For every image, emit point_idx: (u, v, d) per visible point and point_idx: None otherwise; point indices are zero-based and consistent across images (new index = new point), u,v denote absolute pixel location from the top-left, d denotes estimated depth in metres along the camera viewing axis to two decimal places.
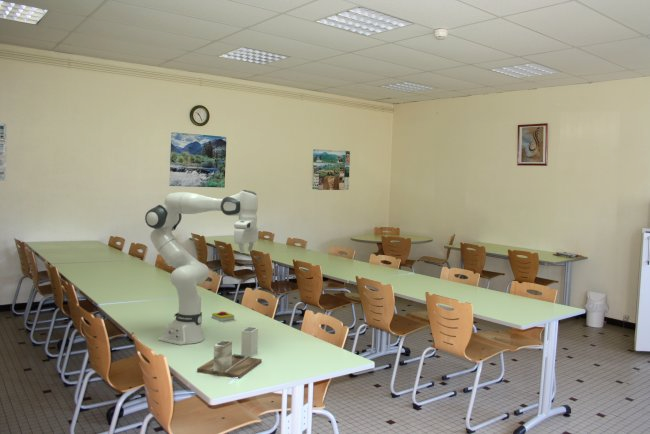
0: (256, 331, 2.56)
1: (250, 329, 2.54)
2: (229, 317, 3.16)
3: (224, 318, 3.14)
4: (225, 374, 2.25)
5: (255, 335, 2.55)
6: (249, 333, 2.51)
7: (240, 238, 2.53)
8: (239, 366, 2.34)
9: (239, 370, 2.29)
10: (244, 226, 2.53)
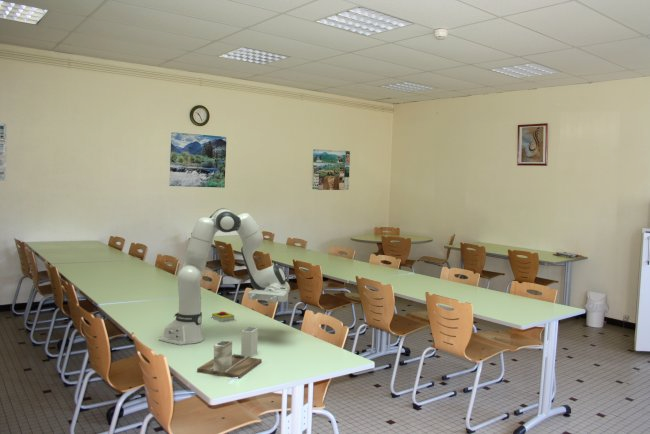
0: (256, 331, 2.56)
1: (250, 329, 2.54)
2: (229, 317, 3.16)
3: (224, 318, 3.14)
4: (225, 374, 2.25)
5: (255, 335, 2.55)
6: (249, 333, 2.51)
7: (285, 300, 2.69)
8: (239, 366, 2.34)
9: (239, 370, 2.29)
10: (287, 300, 2.75)
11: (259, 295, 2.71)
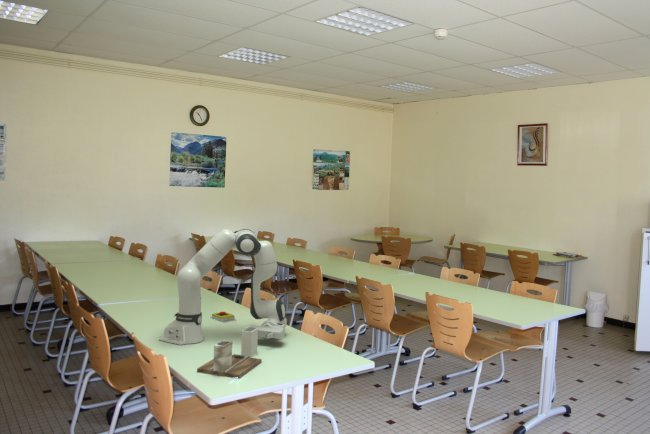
0: (256, 331, 2.56)
1: (250, 329, 2.54)
2: (230, 317, 3.16)
3: (225, 318, 3.14)
4: (225, 374, 2.25)
5: (255, 335, 2.55)
6: (249, 333, 2.51)
7: (282, 336, 2.68)
8: (239, 366, 2.34)
9: (239, 370, 2.29)
10: None
11: None
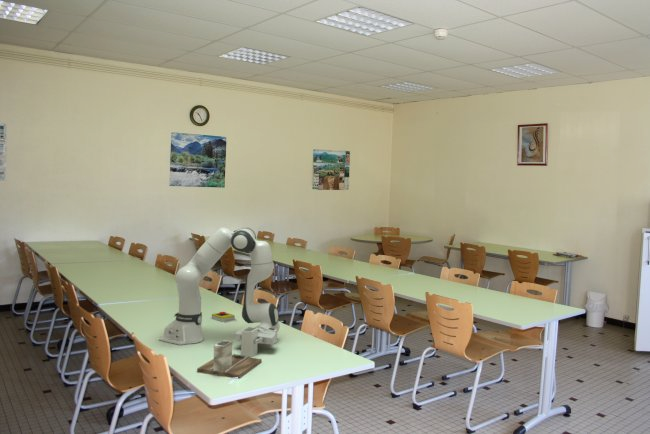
0: (256, 331, 2.56)
1: (250, 329, 2.54)
2: (230, 317, 3.16)
3: (225, 318, 3.13)
4: (225, 374, 2.25)
5: (255, 335, 2.55)
6: (249, 333, 2.51)
7: (274, 342, 2.58)
8: (239, 366, 2.34)
9: (239, 370, 2.29)
10: (276, 341, 2.64)
11: None
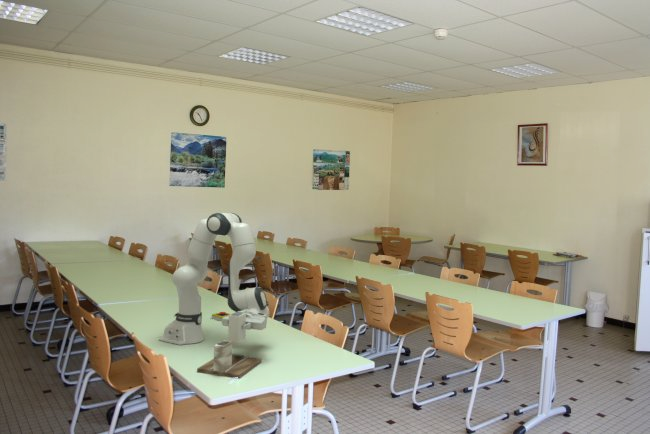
0: (244, 316, 2.42)
1: (238, 313, 2.40)
2: None
3: None
4: (225, 374, 2.25)
5: (243, 320, 2.41)
6: (237, 318, 2.37)
7: (263, 327, 2.44)
8: (239, 366, 2.34)
9: (239, 370, 2.29)
10: (265, 327, 2.50)
11: None
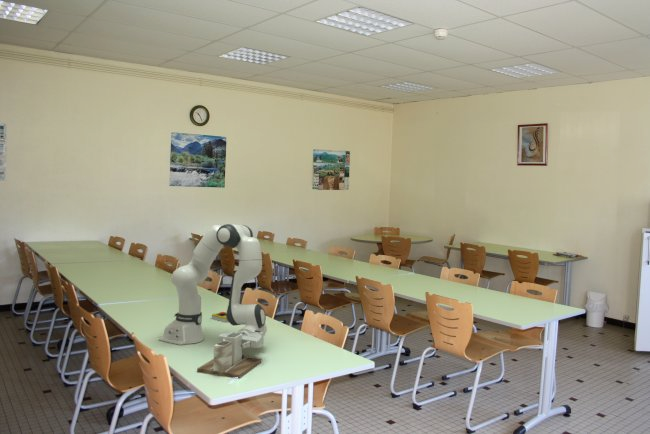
0: (240, 337, 2.40)
1: (234, 335, 2.38)
2: None
3: None
4: (225, 374, 2.25)
5: (239, 341, 2.39)
6: (232, 339, 2.35)
7: (260, 345, 2.42)
8: (239, 366, 2.34)
9: (239, 370, 2.29)
10: (262, 344, 2.48)
11: None
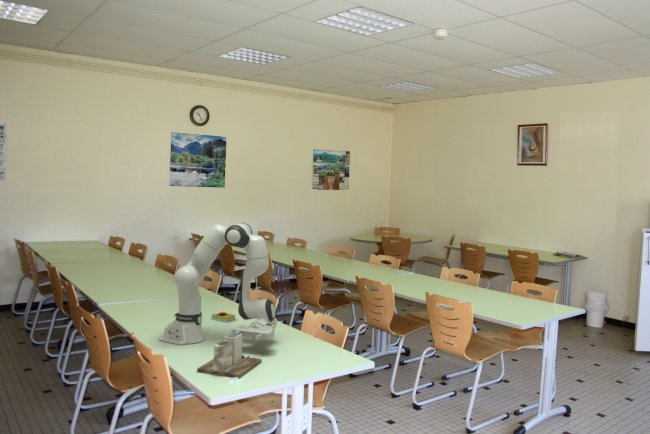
0: (240, 337, 2.40)
1: (234, 335, 2.38)
2: (231, 317, 3.16)
3: (227, 318, 3.13)
4: (225, 374, 2.25)
5: (239, 341, 2.39)
6: (232, 339, 2.35)
7: (271, 338, 2.54)
8: (239, 366, 2.34)
9: (239, 370, 2.29)
10: (273, 337, 2.60)
11: (244, 332, 2.56)
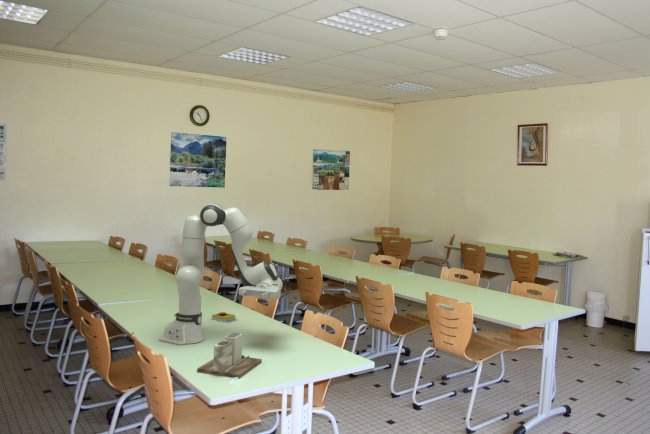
0: (240, 337, 2.40)
1: (234, 335, 2.38)
2: (232, 317, 3.16)
3: (228, 318, 3.13)
4: (225, 374, 2.25)
5: (239, 341, 2.39)
6: (232, 339, 2.35)
7: (278, 296, 2.60)
8: (239, 366, 2.34)
9: (239, 370, 2.29)
10: (279, 296, 2.65)
11: (251, 291, 2.62)
